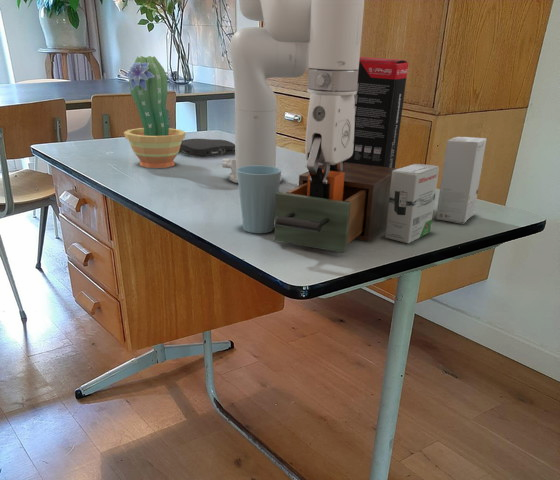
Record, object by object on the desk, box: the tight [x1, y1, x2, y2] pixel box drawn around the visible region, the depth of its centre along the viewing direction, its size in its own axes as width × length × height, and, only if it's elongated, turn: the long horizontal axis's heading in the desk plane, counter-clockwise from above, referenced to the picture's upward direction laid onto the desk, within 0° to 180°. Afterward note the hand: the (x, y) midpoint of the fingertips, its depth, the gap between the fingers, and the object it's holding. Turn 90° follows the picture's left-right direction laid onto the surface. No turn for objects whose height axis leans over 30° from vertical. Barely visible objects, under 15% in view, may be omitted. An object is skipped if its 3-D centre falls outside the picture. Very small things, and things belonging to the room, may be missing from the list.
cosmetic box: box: [435, 136, 488, 225], centre depth 114 cm, size 8×6×15 cm
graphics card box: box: [318, 56, 409, 168], centre depth 121 cm, size 17×7×27 cm, turn 59°
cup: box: [237, 165, 282, 234], centre depth 104 cm, size 8×8×10 cm
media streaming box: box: [178, 138, 235, 158], centre depth 170 cm, size 15×15×3 cm
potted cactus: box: [123, 55, 186, 169], centre depth 148 cm, size 15×15×25 cm
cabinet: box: [298, 162, 398, 242], centre depth 109 cm, size 16×14×10 cm
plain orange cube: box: [307, 170, 345, 201], centre depth 97 cm, size 5×5×5 cm
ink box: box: [384, 163, 440, 244], centre depth 103 cm, size 9×5×12 cm, turn 141°
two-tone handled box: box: [274, 182, 369, 254], centre depth 98 cm, size 20×12×8 cm, turn 154°
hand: (324, 203), depth 98 cm, fingers closed on plain orange cube, 4 cm apart
